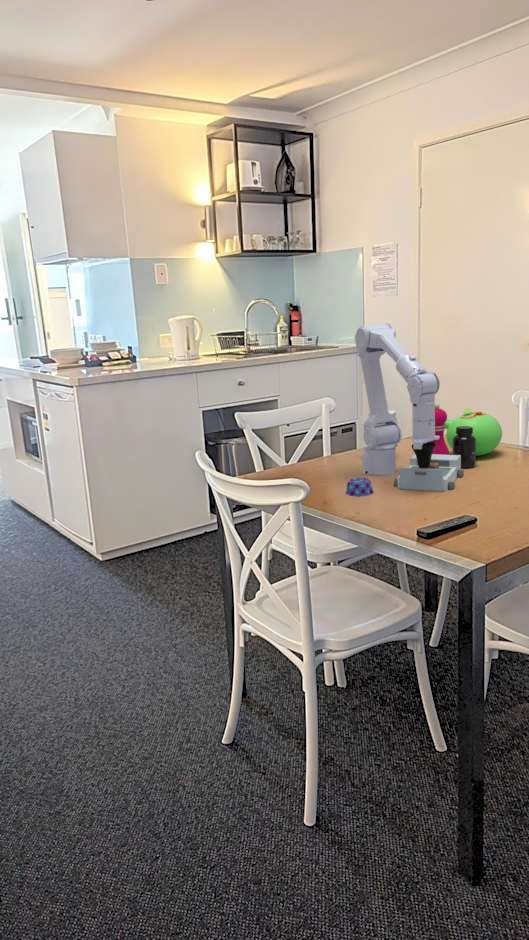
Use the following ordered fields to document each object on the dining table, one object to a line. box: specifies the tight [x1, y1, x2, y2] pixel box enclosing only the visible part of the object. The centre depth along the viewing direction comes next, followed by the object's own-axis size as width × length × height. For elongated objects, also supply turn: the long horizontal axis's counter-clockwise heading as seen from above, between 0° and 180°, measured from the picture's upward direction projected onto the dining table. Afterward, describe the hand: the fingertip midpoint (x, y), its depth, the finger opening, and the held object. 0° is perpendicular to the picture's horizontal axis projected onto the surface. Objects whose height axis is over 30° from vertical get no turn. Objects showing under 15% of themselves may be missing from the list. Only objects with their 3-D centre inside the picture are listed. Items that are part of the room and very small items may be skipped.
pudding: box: [345, 477, 375, 498], centre depth 177 cm, size 12×12×5 cm
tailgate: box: [398, 466, 444, 493], centre depth 175 cm, size 11×6×1 cm
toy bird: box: [444, 407, 503, 457], centre depth 214 cm, size 18×17×15 cm
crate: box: [429, 462, 439, 469], centre depth 184 cm, size 4×4×4 cm
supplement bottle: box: [451, 426, 477, 469], centre depth 201 cm, size 7×7×12 cm
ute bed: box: [393, 453, 465, 492], centre depth 184 cm, size 16×19×6 cm
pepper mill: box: [430, 402, 450, 455], centre depth 199 cm, size 7×7×20 cm
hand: (424, 470), depth 178 cm, fingers closed
